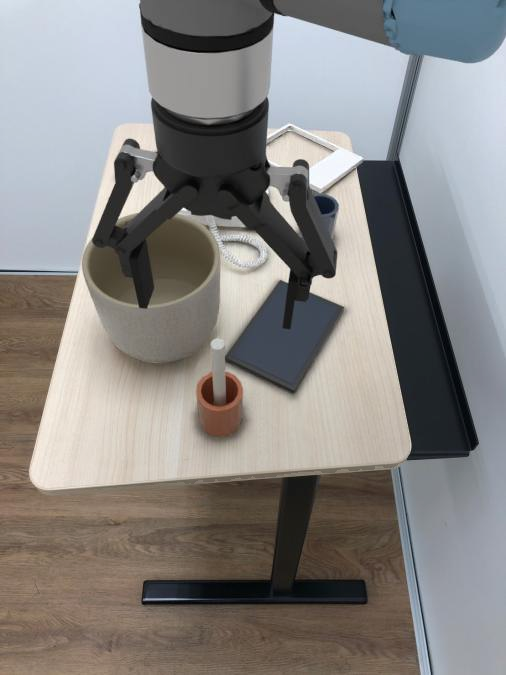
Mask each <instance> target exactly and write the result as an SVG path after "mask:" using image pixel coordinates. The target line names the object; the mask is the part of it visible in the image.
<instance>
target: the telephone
mask: <svg viewBox="0 0 506 675" xmlns="http://www.w3.org/2000/svg"><path fill="white" fill-rule="evenodd" d="M269 189H270V187H269V188H268V189H267V190H266V191H265V192H266V193H267V194H268V196H269V194H270V192H269V191H270V190H269ZM250 206H251V205H250ZM178 214H181V215H185V216H187V217H190V218H192V219H194V220H196V221H198V222H199V223H201V224H202V225H204V226H208V228H209V231H210V232H211V233H212V235H213V236H214V237H215V239H216V241H217V243H218V246H219V250H220V254H222V256H223V257H224V258H225V259H227V260H226V261H229V262H230V263H232V264H233V265H235V266H238V267H239V268H245V269H254V268H258V267H260V266H261V265H263V264H264V263H265V262H266V260H267V259H268V250H267V248H266V245H264V243H262V242H261V241H259V240H258V239H256V238H254V237H251V236H247V235H244V234H236V233H235V234H232V233H230V234H221V235H220V233H219V230H218V227H231V228H247V227H246V226H245V225H244V224H243V223H242V222H241V221H240V220H239V219H238V218H237V217H236V216H235V217H232V219H231V220H228V219H221V218H218V217H215V216H212V215H207V216H197V215H191V211H188V210H186V209H185V208H183V209H182V210H180V211H179V212H178ZM233 241H234V242H238V241H239V242H242V243H246V244H250V245H252V246H254V248H256V249H258V251H259V253H260V254H259V257H258V258H257V259H255V260H250V261H249V260H248V261H247V260H245V261H244V260H242V259H239V258H238V257H236V256H234V254H232V253H231V252H230V251H229V250H228V249H227V248H226V246H225V245H224V242H233Z"/></svg>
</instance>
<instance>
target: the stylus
mask: <svg viewBox="0 0 506 675" xmlns="http://www.w3.org/2000/svg"><path fill="white" fill-rule="evenodd" d="M225 356H226V345H225V341H224V340H223V339H222V338H214V339H212V340H211V342H210V358H211V372H212V376H213V393H214V406H219V407H221V406H226V380H225V371H226V361H225Z"/></svg>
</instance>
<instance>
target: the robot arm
mask: <svg viewBox="0 0 506 675" xmlns="http://www.w3.org/2000/svg"><path fill="white" fill-rule="evenodd" d="M138 8H139V14H140V26H141V34H142V43H143V51H144V52H143V53H144V61H145V69H146V77H147V86H148V92H149V95H150V96H151V100H150V108H151V117H152V124H153V131H154V132H153V133H154V140H155V147H156V151H151V150H146V149H142V148H141V146H140V144H139V142H138V141H137V140H136V139H134V138H126V139H125V140H124V141H123V143H122V145H121V147H120V149H119V151H118V153H117V155H116V157H115V158H114V161H113V169H114V170H113V171H114V182H115V183H114V185H113V187H112V189H111V193H110V194H109V197H108V199H107V202H106V204H105V207H104V209H103V212H102V214H101V216H100V218H99V221H98V224H97V226H96V228H95V231H94V234H93V236H92V237H91V239H92V243H93V244H94V245H95V246H97V247H99V248H104V247H105V246H109V247H111V248H113V249H114V250H115V252H116V253H117V254H118V256H119V260H120V264H121V268H122V273H123V274H124V276H125V277H128V278H133V282H134V286H135V291H136V296H137V300H138V305H139V308H144V309H147V307H148V304H149V302H150V299H151V296H152V293H153V290H154V282H153V277H152V271H151V265H150V259H149V253H148V247H147V242H146V238H147V237H148V236H149V235H150V234H151V233H153V232H154V231H155V230H156V229H157V228H158V227H159V226H160V225H161V224H163V223H164V222H165V221H166V220H167V219H169V220H170V219H171V218H173V217H174V216H175V215H176V214H177V213H178V212H179V211H180V210H182V209H183V208H185V209H186V210H188V211H191V215H197V216H207V215H212V216H215V217H218V218H221V219H228V220H231V219H232V217H235V216H236V217H237V218H238V219H239V220H240V221H241V222H242V223H243V224H244V225H245V226H246V227H245V228H246V229H247V230H249V231H255V233H256V235H258V236H259V237H260V238H261V239H262V241H263V242H265V244H267V246H268V247H269V248H270V249H271V250H272V251H273V252H274V253H275V254H276V255H277V257H278V258H280V260H281V261H282V262H283V263H284V264H285V265H286V266H287V267H288V268H289V275H288V281H287V283H288V288H287V296H286V304H285V312H284V319H283V327H282V328H284V329H291V322H292V315H293V309H294V302H295V301H303V302H306V301H307V300H308V298H309V292H310V293H311V288H312V284H313V279H314V278H315V277H318V276H321V277H323V278H324V279H333V278H334V277H336V274H337V263H338V250H337V247H336V245H335V242H334V240H333V239H332V238H331V235H330V233H329V231H328V228H327V226H326V224H325V221H324V219H323V217H322V214H321V212H320V210H319V208H318V205H317V203H316V201H315V198H314V196H313V191H312V189H311V188H310V187H309V168H310V164H309V162H308V161H307V160H305V159H303V158H299V159H296V160H294V162H293V163H292V166H282V167H271V165H270V164H269V162H268V160H269V159H268V157H267V144H268V143H267V136H268V127H269V113H270V112H269V110H270V109H269V108H270V100H269V98H268V95H269V92H270V88H271V79H272V60H273V59H272V57H273V45H274V44H273V41H274V26H275V15H278V16H281V17H290V18H292V19H296V20H299V21H303V22H306V23H310V24H312V25H316V26H320V27H323V28H326V29H330V30H333V31H337V32H340V33H343V34H345V35H350V36H353V37H355V38H360V39H362V40H366V41H370V42H373V43H377V44H380V45H384V46H387V47H389V48H393V49H394V50H395V51H399V52H400V53H401V54H404V55H406V56H410V55H411V56H415V57H421V56H426V57H433V58H437V59H443V60H447V61H454V62H458V63H463V64H477V63H481V62H484V61H485V60H487V59H489V58H491V57H492V56H493V55H494V54H496V53H497V51H498V50H499V49H500V47H502V44H503V43H504V41H505V39H506V0H139V3H138ZM156 152H157V153H156ZM267 159H268V160H267ZM150 172H152V173H153V175H154V176H155V178H156V179H157V180H158V181H159V183H160V184H161V185H162V186H163V188H162V189H161V191H159V193H158V194H157V195H155V197H153V198H152V199H151V200H149V201H150V202H148V203H147V204H146V205H145V206H144V207H143V208H142V209H141V210H140V211H139V212H137V213H138V214H137V215H136V216H135V217H134V218H133V219H132V220H131V221H130V222H129V223H128V224H127V222H126V223H125V225H124V228H120V227H118V226H115V225H116V222H117V220H118V219H120V216H121V213H122V211H123V209H124V207H125V204H126V203H127V201H128V198H129V196H130V193H131V191H132V189H133V187H134V184H135V183H138V182H139V181H142V180H144V179H145V177H146V175H147V173H150ZM270 187H273V188H275V189H276V190H278V193H279V195H280V196H281V198H282V201H283V202H286V203H289V210H290V212H291V215H292V218H293V219H294V221H295V223H296V225H297V227H298V230H299V233H300V232H301V234H302V236H303V238H304V240H305V242H306V243H305V242H304V241H303V240H302V238H301V237H300V234H298V232H297V230H295V229H294V228H293V227H292V226H291V224H290V223H289V222H288V221H287V219H285V218H284V216H283V215H282V214H281V213H280V212H279V210H278V209H277V208H276V207H275V206H274V204H273V203H272V202H271V199H270V196H269V195H268V194H267V193H266V192H265V191H266V190H267V189H268V188H269V189H270ZM250 205H251V206H250Z"/></svg>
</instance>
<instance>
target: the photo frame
mask: <svg viewBox="0 0 506 675" xmlns="http://www.w3.org/2000/svg"><path fill="white" fill-rule="evenodd" d="M289 131H291V132H293V133H296V134H297V135H300V136H302V137H304V138H306V139H308V140H310V141H313V142H315V143H317V144H318V145H321V146H323V147H325V148H327V149H329V150H331V151H333V152H332V153H330V154H328V155H327V156H326V157H324V158H323V159H321V160H320V161H318V162H317V163H315V164H314V165H313V166H310V167H309V187H310V189H311V190H313V191H314V192H317V194H323V192H325V191H327V189H329V188H330V187H331V186H333V185H334V184H336V183H337V182H338V181H339V180H341V179H342V178H343V177H345V176H347V175H348V174H349V173H350V172H352V171H353V170H354V169H356V168H357V167H358V166H360V165H361V164H363V162H364V158H365V157H364V156H363V157H362V156H360V155H359V154H356V153H354V152H352V151H350V150H348V149H346V148H343V147H341V146H339V145H337V144H335V143H332V142H330V141H328V140H326V139H324V138H322V137H320V136H318V135H316V134H314V133H311V132H309V131H307V130H305V129H303V128H301V127H298V126H297V125H295V124H292V123H290V122H288V123H287V124H285V125H284V126H282V127H280V128H279V129H277V130H275V131H273V132H271V133H270V134H267V144H268V143H270V142H271V141H273V140H275V139H276V138H278V137H280V136H281V135H283V134H285V133H286V132H289ZM267 160H268V162H269V164H270V165H271V167H283V166H282V165H280V164H278V163H276V162H274V161H272V160H270V159H268V158H267Z"/></svg>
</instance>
